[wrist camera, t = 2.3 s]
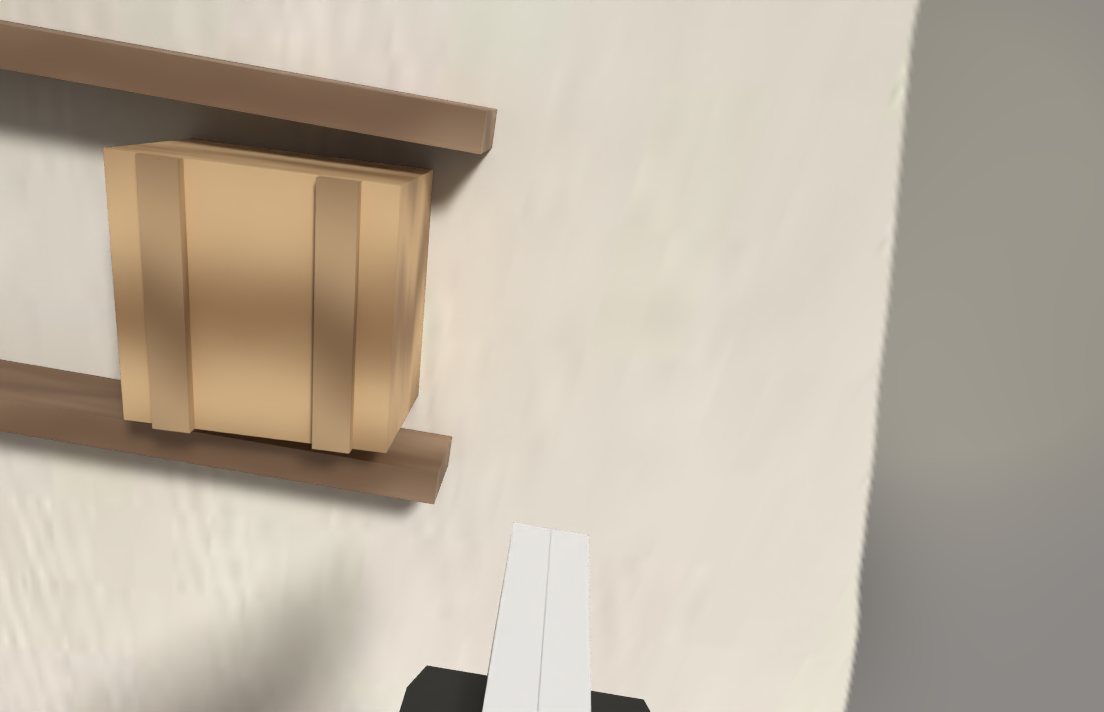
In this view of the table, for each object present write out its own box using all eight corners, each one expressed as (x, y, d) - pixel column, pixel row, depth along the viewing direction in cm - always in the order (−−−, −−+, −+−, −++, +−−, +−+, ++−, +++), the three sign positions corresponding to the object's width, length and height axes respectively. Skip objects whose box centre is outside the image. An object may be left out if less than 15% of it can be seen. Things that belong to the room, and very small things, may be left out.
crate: (192, 138, 30) (95, 148, 24) (434, 169, 31) (397, 187, 24) (200, 365, 34) (117, 424, 28) (419, 393, 34) (383, 457, 28)
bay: (-322, -160, 27) (-609, -241, 21) (513, -7, 28) (491, -39, 21) (-225, 350, 34) (-419, 412, 27) (448, 465, 35) (416, 552, 28)
